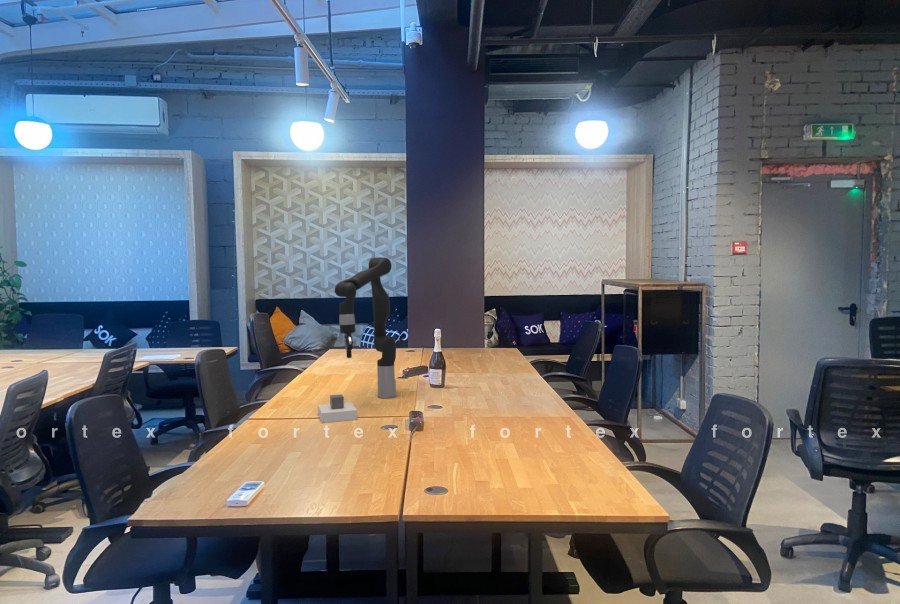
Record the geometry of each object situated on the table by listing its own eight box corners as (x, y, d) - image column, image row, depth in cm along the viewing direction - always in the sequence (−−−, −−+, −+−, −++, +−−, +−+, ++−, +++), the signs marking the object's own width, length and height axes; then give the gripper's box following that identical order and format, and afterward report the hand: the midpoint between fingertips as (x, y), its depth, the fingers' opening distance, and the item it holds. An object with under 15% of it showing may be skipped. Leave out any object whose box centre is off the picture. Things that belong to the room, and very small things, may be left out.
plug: (342, 414, 282) (341, 394, 281) (344, 417, 277) (343, 396, 276) (330, 416, 280) (329, 395, 280) (332, 419, 275) (331, 397, 274)
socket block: (351, 411, 289) (351, 402, 288) (357, 419, 273) (356, 410, 273) (318, 414, 283) (317, 405, 283) (322, 423, 268) (321, 413, 268)
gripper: (357, 324, 285) (359, 359, 286) (352, 320, 297) (354, 354, 299) (341, 325, 282) (343, 360, 284) (337, 322, 295) (339, 356, 296)
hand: (349, 357), depth 291 cm, fingers closed
